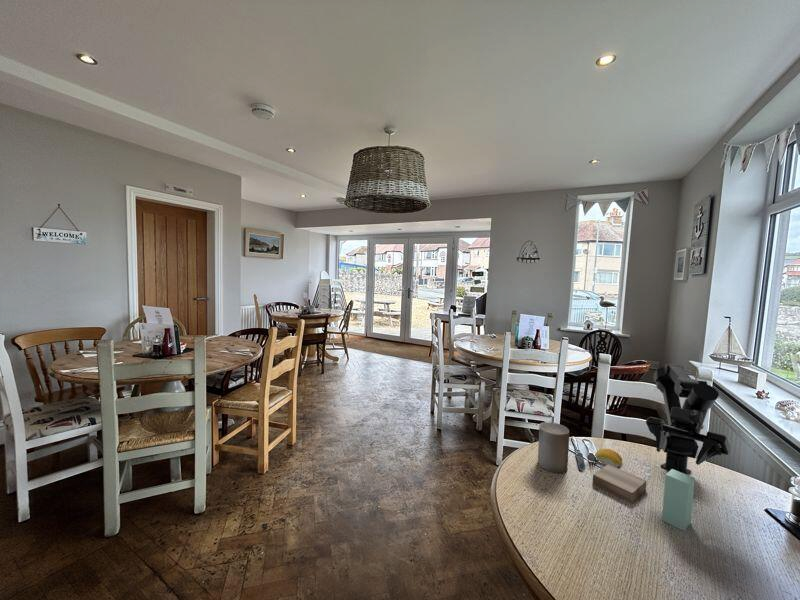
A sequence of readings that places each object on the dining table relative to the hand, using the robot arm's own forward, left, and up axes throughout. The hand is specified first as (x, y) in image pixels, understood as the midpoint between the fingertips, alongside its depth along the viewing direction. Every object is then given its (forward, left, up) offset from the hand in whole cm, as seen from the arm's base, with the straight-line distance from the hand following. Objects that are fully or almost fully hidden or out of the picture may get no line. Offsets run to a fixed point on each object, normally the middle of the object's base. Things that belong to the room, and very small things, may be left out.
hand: (676, 457), depth 96 cm
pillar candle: (+15, -29, -15) cm, 36 cm away
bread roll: (-7, -23, -15) cm, 28 cm away
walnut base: (+5, -12, -15) cm, 20 cm away
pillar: (+6, +4, -15) cm, 17 cm away
